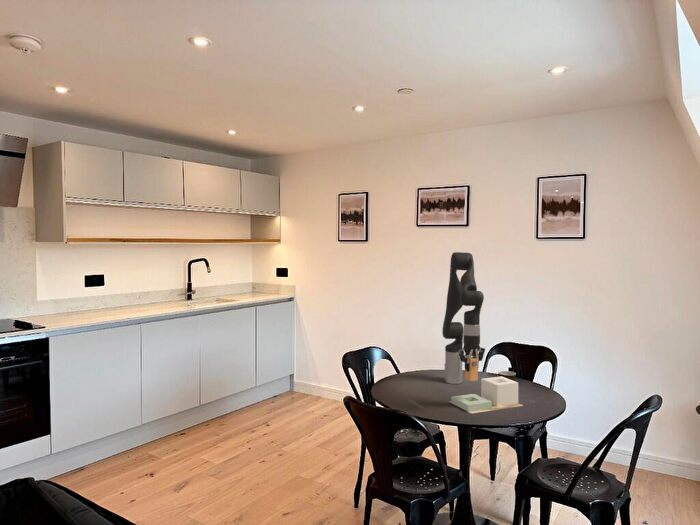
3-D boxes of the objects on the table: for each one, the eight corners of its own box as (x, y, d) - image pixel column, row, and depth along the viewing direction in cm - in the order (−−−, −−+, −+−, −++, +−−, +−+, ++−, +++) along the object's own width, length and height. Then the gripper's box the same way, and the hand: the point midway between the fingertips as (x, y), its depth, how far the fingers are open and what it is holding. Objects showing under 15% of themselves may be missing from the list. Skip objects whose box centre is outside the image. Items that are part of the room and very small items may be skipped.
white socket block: (481, 399, 232) (481, 378, 232) (501, 396, 237) (501, 376, 236) (497, 406, 221) (497, 385, 221) (518, 403, 225) (518, 382, 225)
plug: (465, 378, 224) (465, 357, 223) (472, 378, 225) (472, 356, 225) (471, 381, 219) (471, 359, 219) (478, 380, 221) (479, 359, 220)
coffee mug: (515, 390, 249) (515, 371, 249) (516, 395, 241) (516, 375, 241) (491, 389, 253) (491, 370, 252) (492, 393, 244) (492, 374, 244)
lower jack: (451, 403, 227) (451, 396, 226) (474, 399, 231) (474, 393, 231) (467, 411, 214) (467, 405, 214) (491, 408, 219) (491, 401, 219)
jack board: (448, 403, 229) (448, 401, 229) (498, 396, 240) (498, 394, 239) (471, 415, 212) (471, 413, 212) (523, 407, 223) (523, 405, 223)
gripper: (479, 331, 228) (479, 367, 229) (454, 333, 223) (453, 370, 223) (489, 334, 221) (489, 371, 222) (463, 336, 216) (463, 374, 216)
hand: (471, 370), depth 222 cm, fingers closed on plug, 4 cm apart
